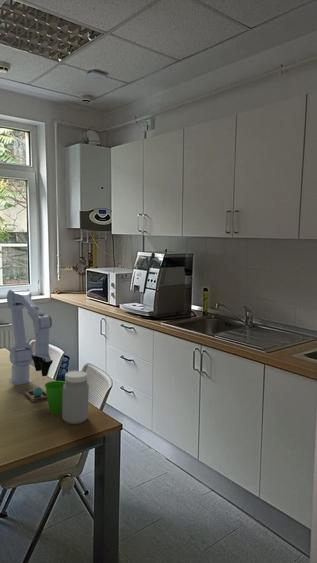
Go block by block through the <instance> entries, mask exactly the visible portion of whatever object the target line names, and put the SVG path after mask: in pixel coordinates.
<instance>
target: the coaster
mask: <svg viewBox="0 0 317 563" xmlns="http://www.w3.org/2000/svg"><path fill="white" fill-rule="evenodd" d="M26 391H31V390H30V389H22V390H21V389H20V390H19V391H18V393H19V394H20V395H21V394H22V395H24V392H26Z"/></svg>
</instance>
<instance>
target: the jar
mask: <svg viewBox="0 0 317 563" xmlns="http://www.w3.org/2000/svg"><path fill="white" fill-rule="evenodd" d="M64 382H65V384H64V386H63V407H62V412H61V414H62V415H61V416H62V420H63V421H64V422H65V423H66V424H70V425H79V424H82V423H84V422H85V421H87V420H88V416H89V391H90V390H89V388H90V387H89V384H88V373H87V372H86V371H84V370H70V371H68V372H65V374H64Z"/></svg>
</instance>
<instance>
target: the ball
mask: <svg viewBox="0 0 317 563" xmlns="http://www.w3.org/2000/svg"><path fill="white" fill-rule="evenodd" d="M42 389H43V388H41V387H35V388H33V389H32V390H33V395H34V396H35V397H39V396H41V395H42V392H43V391H42Z"/></svg>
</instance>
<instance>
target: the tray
mask: <svg viewBox="0 0 317 563" xmlns="http://www.w3.org/2000/svg"><path fill="white" fill-rule="evenodd" d="M41 389H42V391H43V392H42V395H41V396H39V397H35V396H34V395H33V390H34V389H32V390H30V391H26V392H24V394H23V395H24V396H25V397H26V399H28V400H30V402H32V403H33V404H34V403H40V402H42V401H48V399H47V392H46V389H43V388H41Z"/></svg>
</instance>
